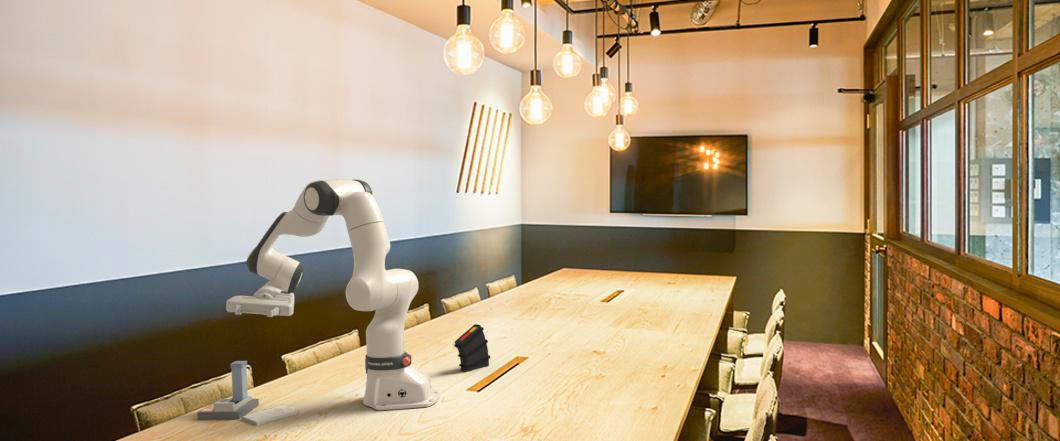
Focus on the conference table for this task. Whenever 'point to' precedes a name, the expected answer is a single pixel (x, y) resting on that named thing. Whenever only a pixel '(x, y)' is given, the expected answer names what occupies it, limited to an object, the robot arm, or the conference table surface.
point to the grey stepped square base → (228, 409)
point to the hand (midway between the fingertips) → (253, 313)
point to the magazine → (473, 349)
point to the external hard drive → (269, 415)
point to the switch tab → (239, 380)
